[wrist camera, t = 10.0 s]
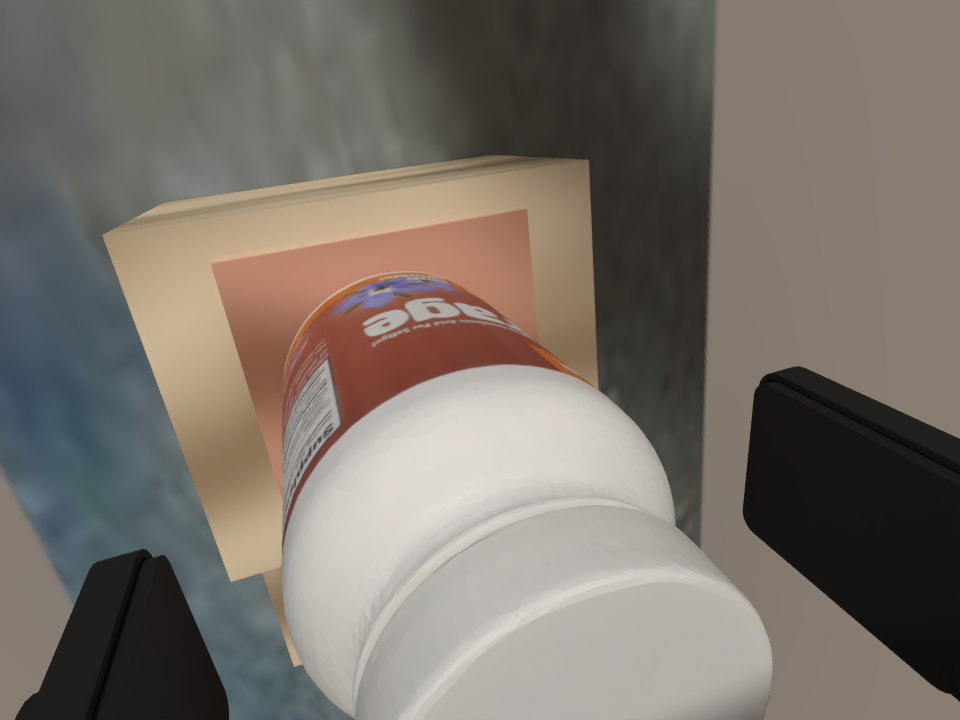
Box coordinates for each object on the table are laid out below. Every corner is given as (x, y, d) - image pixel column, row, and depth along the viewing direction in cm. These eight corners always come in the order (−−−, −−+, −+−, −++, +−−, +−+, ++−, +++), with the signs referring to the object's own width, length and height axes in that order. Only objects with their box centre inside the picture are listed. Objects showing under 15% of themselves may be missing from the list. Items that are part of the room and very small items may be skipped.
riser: (165, 202, 20) (99, 236, 13) (491, 154, 23) (592, 160, 16) (291, 597, 27) (297, 767, 19) (529, 521, 30) (611, 643, 22)
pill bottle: (536, 307, 16) (924, 552, 7) (458, 491, 18) (685, 925, 8) (323, 229, 14) (433, 440, 4) (249, 451, 15) (201, 1018, 5)
